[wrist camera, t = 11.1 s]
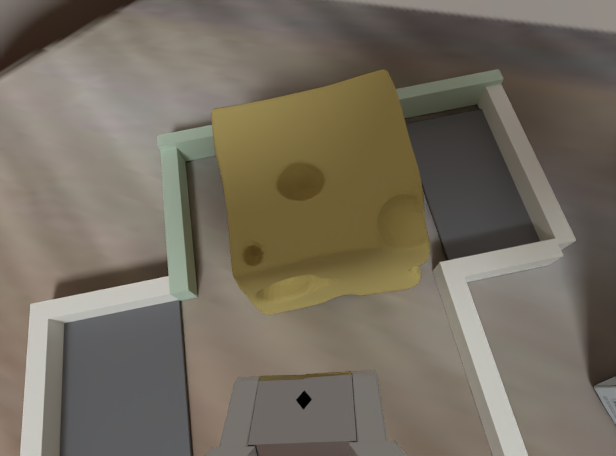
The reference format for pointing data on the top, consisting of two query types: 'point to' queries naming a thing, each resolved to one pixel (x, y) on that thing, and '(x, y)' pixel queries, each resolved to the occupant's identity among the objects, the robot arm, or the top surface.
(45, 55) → the top surface
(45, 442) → the frame
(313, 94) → the cheese
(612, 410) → the tea box
